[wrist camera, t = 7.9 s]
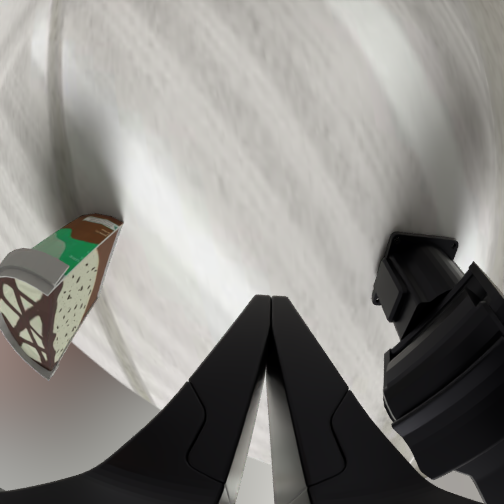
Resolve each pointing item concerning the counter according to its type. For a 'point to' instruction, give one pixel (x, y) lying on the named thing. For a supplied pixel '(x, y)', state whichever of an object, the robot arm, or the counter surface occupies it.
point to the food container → (54, 288)
